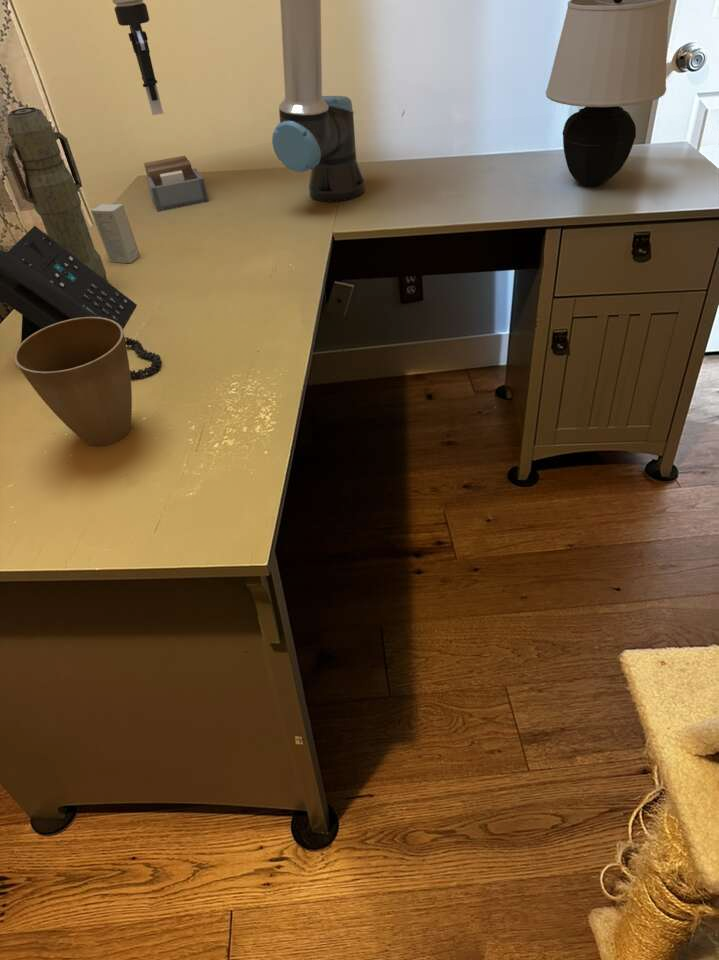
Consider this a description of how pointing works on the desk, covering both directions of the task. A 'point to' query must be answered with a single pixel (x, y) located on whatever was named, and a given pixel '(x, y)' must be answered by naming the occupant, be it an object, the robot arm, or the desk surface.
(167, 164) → the brown block
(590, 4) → the table lamp
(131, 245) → the skincare box
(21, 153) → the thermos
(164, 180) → the cream tile
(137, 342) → the office phone
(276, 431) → the desk surface
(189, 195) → the box
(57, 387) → the plant pot
